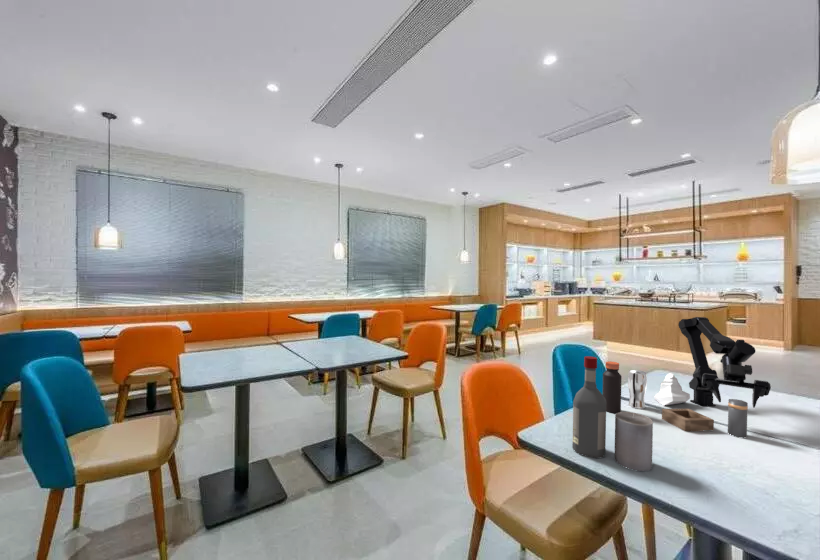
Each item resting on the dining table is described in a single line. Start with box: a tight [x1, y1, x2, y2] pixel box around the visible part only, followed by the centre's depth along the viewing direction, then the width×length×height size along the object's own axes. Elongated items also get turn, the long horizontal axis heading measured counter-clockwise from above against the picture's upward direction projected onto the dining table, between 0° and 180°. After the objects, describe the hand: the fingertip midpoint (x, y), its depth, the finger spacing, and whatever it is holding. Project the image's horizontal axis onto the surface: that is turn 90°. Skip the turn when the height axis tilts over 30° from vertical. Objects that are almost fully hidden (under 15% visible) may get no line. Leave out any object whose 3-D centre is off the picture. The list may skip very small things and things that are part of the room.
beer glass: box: [627, 369, 648, 410], centre depth 154 cm, size 7×7×15 cm
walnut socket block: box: [661, 408, 715, 432], centre depth 136 cm, size 11×11×4 cm
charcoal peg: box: [727, 398, 749, 438], centre depth 127 cm, size 5×5×12 cm
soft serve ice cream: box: [654, 372, 691, 407], centre depth 159 cm, size 12×15×14 cm
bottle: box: [602, 361, 623, 414], centre depth 149 cm, size 7×7×20 cm
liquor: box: [571, 355, 607, 459], centre depth 114 cm, size 9×9×30 cm
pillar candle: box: [613, 411, 654, 472], centre depth 107 cm, size 10×10×15 cm
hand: (736, 404), depth 130 cm, fingers open, 9 cm apart
